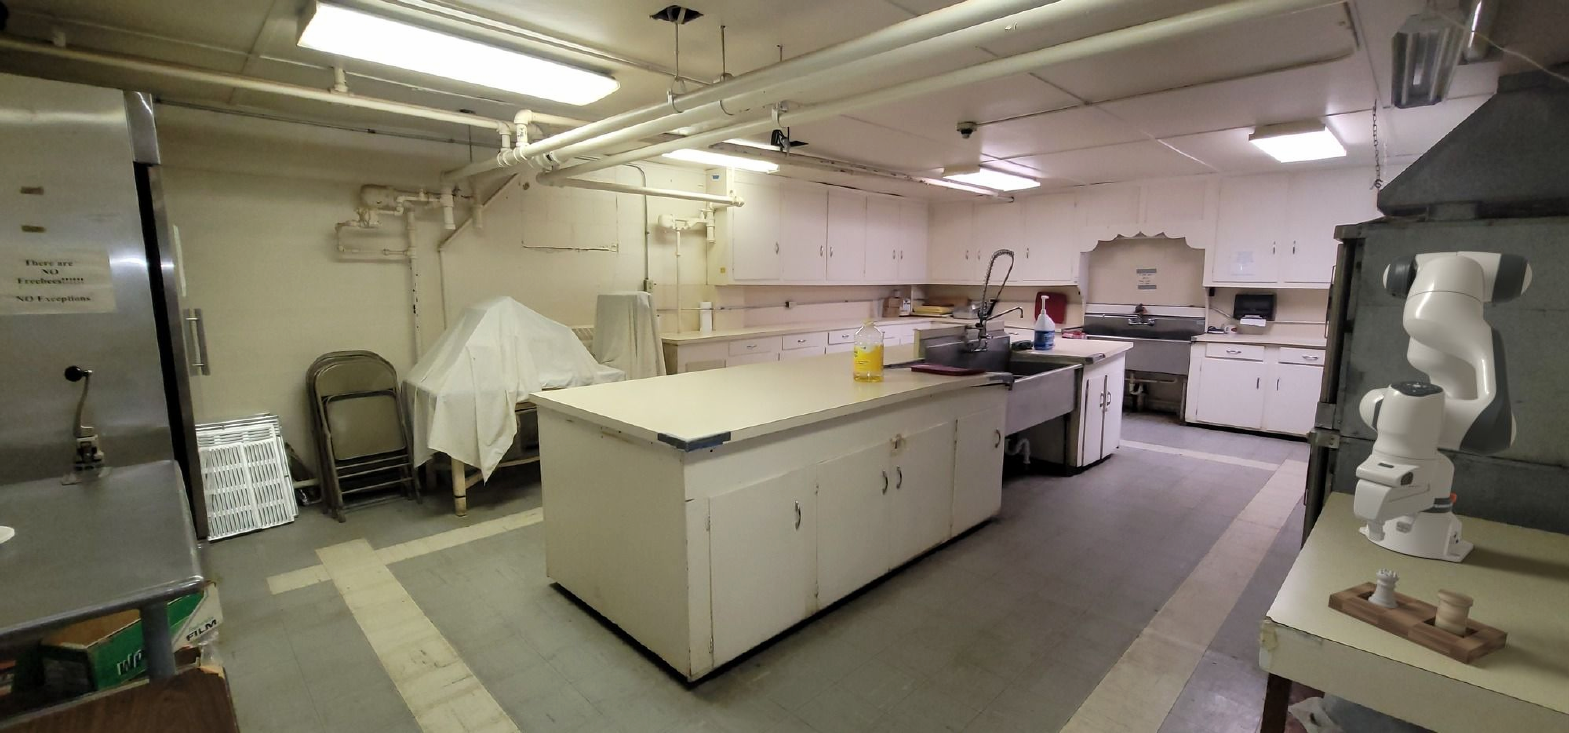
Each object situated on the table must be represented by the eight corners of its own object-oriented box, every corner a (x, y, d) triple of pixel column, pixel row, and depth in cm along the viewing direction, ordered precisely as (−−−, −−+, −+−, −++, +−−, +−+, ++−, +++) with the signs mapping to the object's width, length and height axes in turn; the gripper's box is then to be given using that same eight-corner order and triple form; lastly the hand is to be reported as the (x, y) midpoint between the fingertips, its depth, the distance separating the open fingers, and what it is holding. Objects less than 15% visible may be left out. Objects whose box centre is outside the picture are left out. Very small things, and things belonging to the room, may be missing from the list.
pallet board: (1367, 592, 131) (1373, 554, 129) (1505, 645, 112) (1514, 601, 111) (1328, 606, 125) (1334, 566, 124) (1466, 664, 107) (1475, 617, 106)
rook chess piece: (1369, 612, 122) (1375, 573, 121) (1364, 601, 126) (1370, 564, 125) (1400, 618, 120) (1407, 579, 119) (1394, 608, 124) (1400, 570, 122)
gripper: (1410, 455, 126) (1398, 520, 128) (1351, 469, 118) (1339, 538, 120) (1453, 465, 120) (1439, 533, 122) (1393, 480, 112) (1380, 552, 115)
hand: (1389, 535), depth 121 cm, fingers open, 8 cm apart
